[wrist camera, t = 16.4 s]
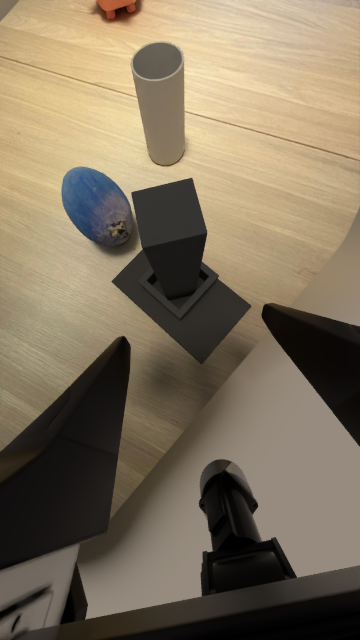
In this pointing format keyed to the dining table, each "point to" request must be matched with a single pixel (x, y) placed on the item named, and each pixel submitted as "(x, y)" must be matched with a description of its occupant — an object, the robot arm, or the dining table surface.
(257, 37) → the dining table surface
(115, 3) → the teapot
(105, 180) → the blue oval fruit
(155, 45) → the cup
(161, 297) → the base pad
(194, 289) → the pad block
